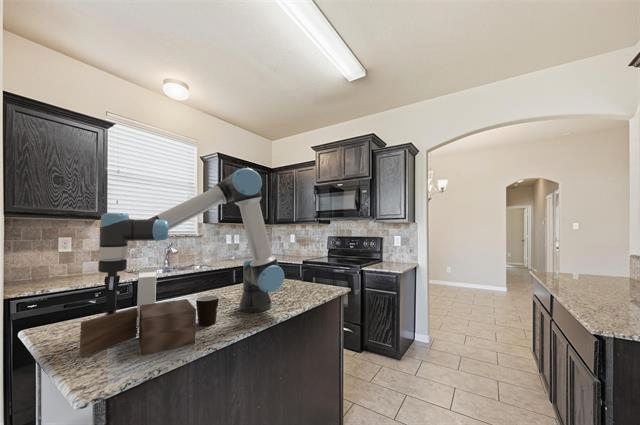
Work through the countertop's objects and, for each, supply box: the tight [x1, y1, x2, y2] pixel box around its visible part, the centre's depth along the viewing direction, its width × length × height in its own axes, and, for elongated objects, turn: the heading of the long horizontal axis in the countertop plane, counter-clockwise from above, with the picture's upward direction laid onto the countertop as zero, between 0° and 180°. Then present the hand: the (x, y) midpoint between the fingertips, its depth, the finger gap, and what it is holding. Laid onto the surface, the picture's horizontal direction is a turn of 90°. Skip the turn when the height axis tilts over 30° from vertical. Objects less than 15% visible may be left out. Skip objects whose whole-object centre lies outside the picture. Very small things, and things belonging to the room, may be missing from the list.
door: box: [78, 307, 139, 359], centre depth 87 cm, size 2×17×10 cm, turn 159°
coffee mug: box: [195, 295, 220, 327], centre depth 110 cm, size 12×9×10 cm
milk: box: [136, 267, 157, 328], centre depth 110 cm, size 6×6×22 cm
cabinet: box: [138, 298, 197, 356], centre depth 92 cm, size 15×17×11 cm
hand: (110, 330), depth 90 cm, fingers closed
